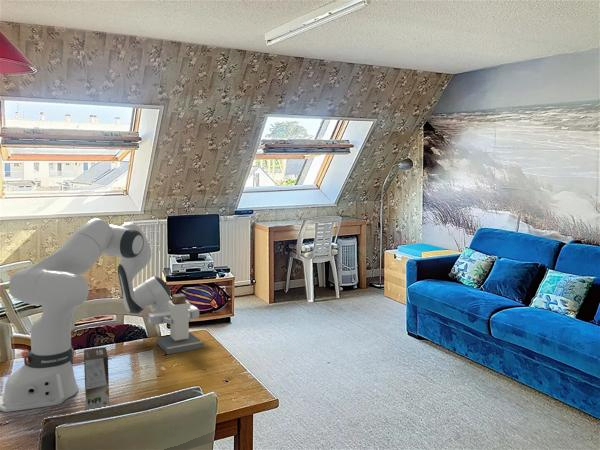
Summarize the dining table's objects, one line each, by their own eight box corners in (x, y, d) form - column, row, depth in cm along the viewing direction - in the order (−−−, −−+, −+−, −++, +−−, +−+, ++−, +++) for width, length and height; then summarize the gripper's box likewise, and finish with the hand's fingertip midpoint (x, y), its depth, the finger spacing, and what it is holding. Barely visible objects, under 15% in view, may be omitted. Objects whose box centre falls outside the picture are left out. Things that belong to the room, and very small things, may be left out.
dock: (167, 354, 195) (167, 348, 195) (156, 342, 207) (156, 337, 207) (203, 347, 203) (203, 342, 203) (190, 337, 215) (190, 332, 214)
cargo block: (175, 307, 200) (175, 297, 200) (172, 304, 204) (172, 294, 203) (185, 305, 202) (185, 295, 202) (182, 303, 206) (182, 293, 205)
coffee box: (110, 409, 152) (108, 357, 150) (86, 413, 149) (84, 360, 147) (107, 396, 160) (106, 346, 158) (85, 400, 157) (83, 349, 155)
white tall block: (174, 341, 200) (173, 305, 198) (168, 336, 206) (168, 301, 204) (190, 338, 204) (190, 303, 202) (184, 333, 209) (184, 299, 207)
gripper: (143, 307, 209) (153, 316, 197) (191, 301, 220) (204, 309, 208) (143, 322, 210) (153, 332, 198) (191, 315, 220) (204, 324, 209)
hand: (180, 320), depth 203 cm, fingers closed on white tall block, 5 cm apart
